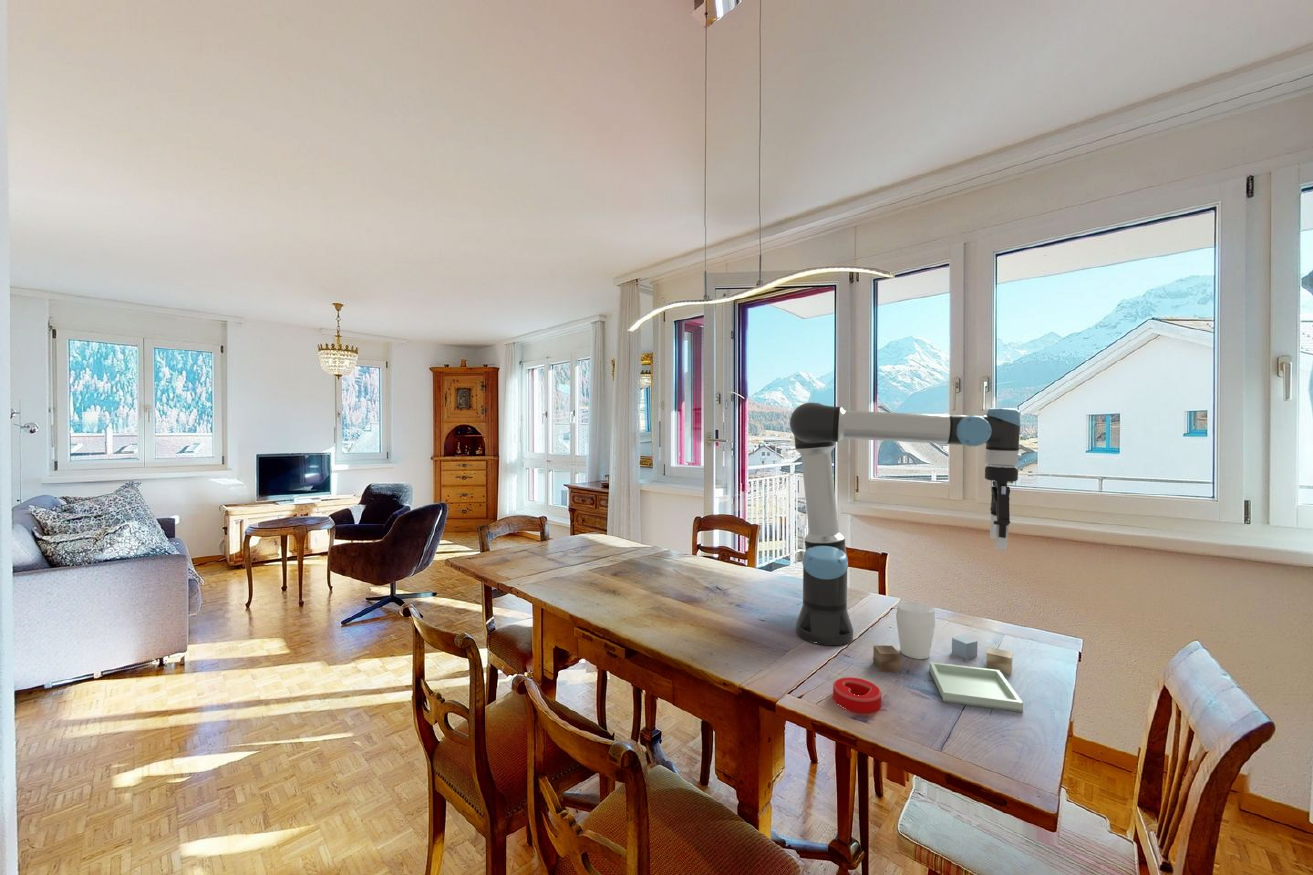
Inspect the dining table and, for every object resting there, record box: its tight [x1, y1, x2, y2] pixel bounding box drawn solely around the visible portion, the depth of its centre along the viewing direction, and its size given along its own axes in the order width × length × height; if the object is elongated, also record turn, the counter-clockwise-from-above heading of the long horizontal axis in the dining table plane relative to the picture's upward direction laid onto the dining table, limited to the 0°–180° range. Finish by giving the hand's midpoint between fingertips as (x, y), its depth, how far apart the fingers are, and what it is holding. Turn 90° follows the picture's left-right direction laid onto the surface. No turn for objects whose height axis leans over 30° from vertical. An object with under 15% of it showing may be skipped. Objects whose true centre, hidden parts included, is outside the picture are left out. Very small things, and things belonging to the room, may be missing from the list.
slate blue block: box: [951, 634, 978, 660], centre depth 136 cm, size 4×4×4 cm
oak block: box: [985, 646, 1014, 675], centre depth 128 cm, size 5×4×4 cm
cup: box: [895, 601, 937, 660], centre depth 136 cm, size 9×9×12 cm
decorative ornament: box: [832, 676, 882, 715], centre depth 114 cm, size 10×10×3 cm
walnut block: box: [872, 644, 901, 673], centre depth 129 cm, size 4×4×4 cm
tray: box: [928, 661, 1024, 713], centre depth 118 cm, size 15×15×2 cm
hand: (998, 543), depth 145 cm, fingers open, 13 cm apart
